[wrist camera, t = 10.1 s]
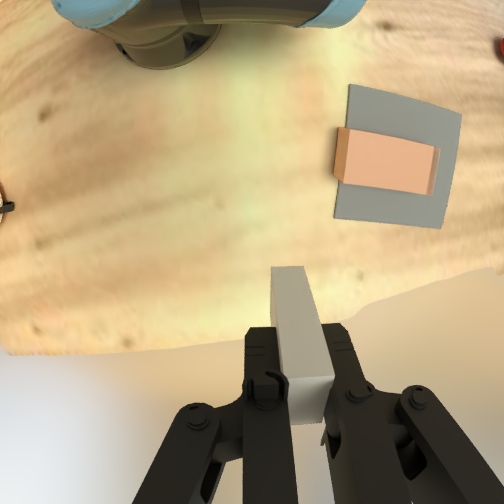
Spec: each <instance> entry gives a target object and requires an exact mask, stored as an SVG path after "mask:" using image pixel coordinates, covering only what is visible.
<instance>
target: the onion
mask: <svg viewBox="0 0 504 504" xmlns="http://www.w3.org/2000/svg"><path fill="white" fill-rule="evenodd" d="M500 47H501V52H502V54H503V56H504V38H503V40H502V41H501V45H500Z"/></svg>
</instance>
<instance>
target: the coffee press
mask: <svg viewBox="0 0 504 504" xmlns="http://www.w3.org/2000/svg"><path fill="white" fill-rule="evenodd" d="M13 210H14V202H2V196H1V193H0V222H1V219H2V215H3V213H5V212H10V211H13Z"/></svg>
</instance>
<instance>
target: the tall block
mask: <svg viewBox="0 0 504 504" xmlns="http://www.w3.org/2000/svg"><path fill="white" fill-rule="evenodd" d="M440 150H441V148H438V147H434V146H431V145H427V144H424V143H420V142H416V141H411V140H407V139H402V138H398V137H393V136H388V135H383V134H378V133H373V132H367V131H361V130H355V129H349V128H343V127H339V131H338V140H337V149H336V158H335V166H334V174H333V175H334V176H335V177H336V178H337V179H339V180H340V181H341V182H342V183H345V184H354V185H362V186H370V187H377V188H385V189H392V190H399V191H405V192H412V193H418V194H424V195H430V196H432V194H433V189H434V184H435V179H436V174H437V168H438V162H439V156H440Z"/></svg>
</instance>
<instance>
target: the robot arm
mask: <svg viewBox="0 0 504 504" xmlns="http://www.w3.org/2000/svg"><path fill="white" fill-rule="evenodd" d="M366 1H367V0H51V2H52V5H53V7H54V9H55V10H56V11H57V13H58V14H60V15H61V16H62V17H63V18H65V19H67V20H69V21H71V22H72V23H73V24H74V25H75V26H77V27H79V28H83V29H85V28H86V29H89V30H92V31H94V32H97V33H99V34H102V35H104V36H107V37H109V38H111V39H114V41H115V44H116V46H117V48H118V49H119V51H120V52H121V53H122V54H123V55H124V56H125V57H126V58H127V59H128V60H130V61H132V62H134V63H136V64H138V65H141V66H143V67H147V68H151V69H169V68H174V67H178V66H181V65H184V64H186V63H188V62H190V61H192V60H194V59H196V58H197V57H199V56H200V55H201V54H202V53H204V52H205V51H206V50H207V49H208V48H209V47H210V46H211V44H212V43H213V42H214V40H215V39H216V37H217V35H218V33H219V31H220V28H221V24H227V23H251V24H276V25H289V26H290V27H293V28H304V27H318V28H336V27H339V26H343V25H345V24H346V23H348V22H349V21H351V20H352V19H353V18H354V17H355V16H356V15H357V14H358V13H359V12H360V10H361V9H362V7H363V6H364V4H365V2H366ZM270 319H271V327H250V329H249V330H248V332H247V334H246V335H245V357H244V358H245V360H244V361H245V362H244V380H243V384H242V390H243V392H242V394H241V396H240V397H239V398H238V399H237V400H236V401H234V402H233V403H230V404H228V405H225V406H221V407H217V408H213V407H212V406H210V405H208V404H205V403H192V404H188V405H186V406H185V407H183V408H181V409H180V410H179V412H178V413H177V415H176V416H175V418H174V420H173V422H172V424H171V426H170V428H169V430H168V432H167V434H166V436H165V438H164V440H163V442H162V445H161V447H160V448H159V450H158V452H157V454H156V456H155V458H154V461H153V462H152V465H151V466H150V469H149V470H148V473H147V474H146V477H145V479H144V481H143V482H142V485H141V487H140V488H139V490H138V493H137V494H136V497H135V498H134V501H133V502H132V504H211V503H212V500H213V498H214V495H215V492H216V489H217V487H218V484H219V481H220V478H221V475H222V472H223V469H224V466H225V464H226V462H228V461H232V460H235V459H239V458H243V504H298V495H297V485H296V474H295V464H294V456H293V446H292V436H291V427H290V425H303V424H314V423H322V420H323V417H324V419H325V423H326V427H325V430H324V433H323V436H322V439H321V446H323V445H324V443H325V445H326V451H327V457H328V463H329V469H330V475H331V481H332V487H333V493H334V500H335V504H412V502H413V504H504V486H503V485H502V484H501V482H500V481H499V479H498V478H497V476H496V475H495V474H494V472H493V471H492V469H491V468H490V467H489V465H488V464H487V463H486V461H485V460H484V458H483V457H482V456H481V454H480V453H479V452H478V450H477V449H476V447H475V446H474V445H473V443H472V442H471V441H470V439H469V438H468V437H467V436H466V434H465V433H464V432H463V430H462V429H461V428H460V426H459V425H458V424H457V423H456V421H455V420H454V419H453V417H452V416H451V415H450V413H449V412H448V411H447V410H446V409H445V407H444V406H443V405H442V403H441V402H440V401H439V400H438V398H437V397H436V396H435V394H434V393H433V392H432V391H431V390H429V389H428V388H426V387H424V386H420V385H413V386H409V387H407V388H406V389H405V390H403V392H402V394H396V393H388V392H382V391H379V390H377V389H375V387H374V386H373V385H372V384H371V383H369V382H368V381H366V379H365V377H364V375H363V372H362V369H361V366H360V363H359V361H358V358H357V355H356V352H355V350H354V347H353V344H352V342H351V339H350V336H349V334H348V331H347V330H346V329H345V328H344V327H343V326H342V325H341V324H340V323H331V324H321V323H320V319H319V316H318V313H317V309H316V306H315V302H314V299H313V296H312V292H311V289H310V286H309V283H308V279H307V276H306V273H305V270H304V266H288V267H271V294H270ZM411 501H412V502H411Z"/></svg>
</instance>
